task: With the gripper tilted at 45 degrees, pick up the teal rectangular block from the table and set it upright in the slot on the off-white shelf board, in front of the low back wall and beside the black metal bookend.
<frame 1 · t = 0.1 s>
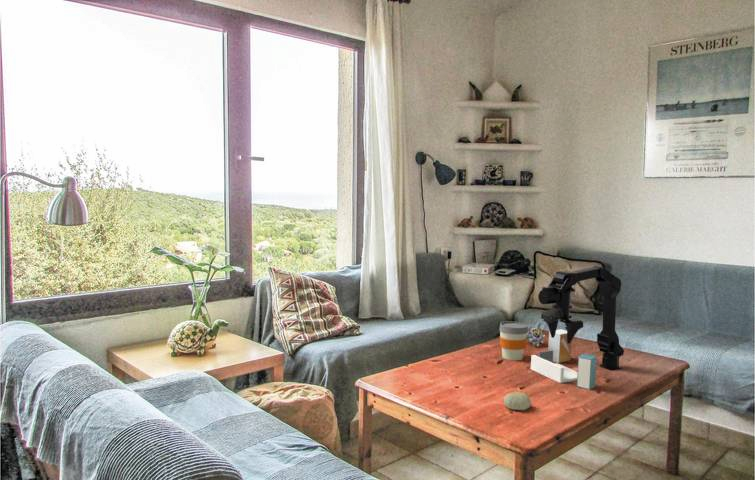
hand: (560, 340, 232), 15 cm above the table, tool pointing down, fingers open, 9 cm apart
teal rectangular block: (586, 386, 222), on the table
small box: (559, 360, 254), on the table
passion flower: (531, 344, 279), on the table
shelf: (559, 375, 234), on the table
sea urchin shell: (517, 407, 200), on the table
reusable coffee cup: (512, 357, 257), on the table
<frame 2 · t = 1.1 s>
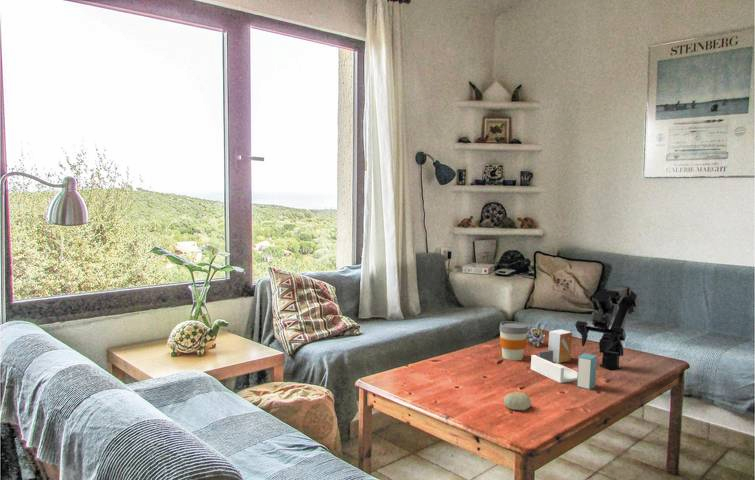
hand: (594, 348, 227), 13 cm above the table, tool tilted 45°, fingers open, 9 cm apart
nothing on the table moved.
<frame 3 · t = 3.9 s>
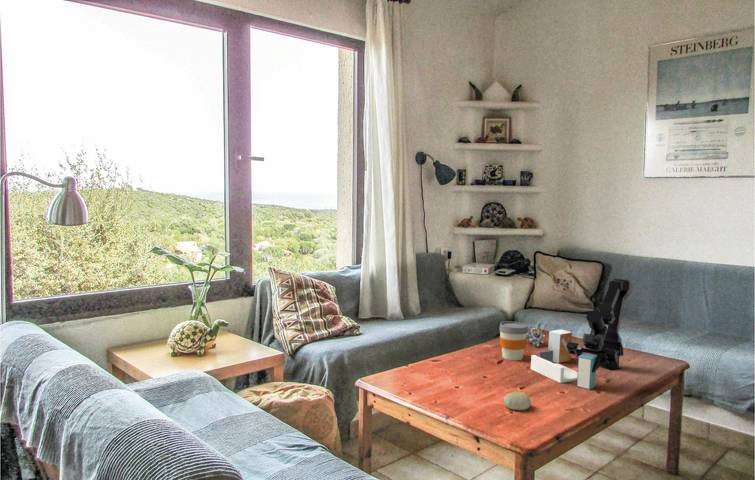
hand: (585, 370, 220), 7 cm above the table, tool tilted 45°, fingers closed on teal rectangular block, 5 cm apart
teal rectangular block: (586, 386, 222), on the table, touching gripper
everything else where it was.
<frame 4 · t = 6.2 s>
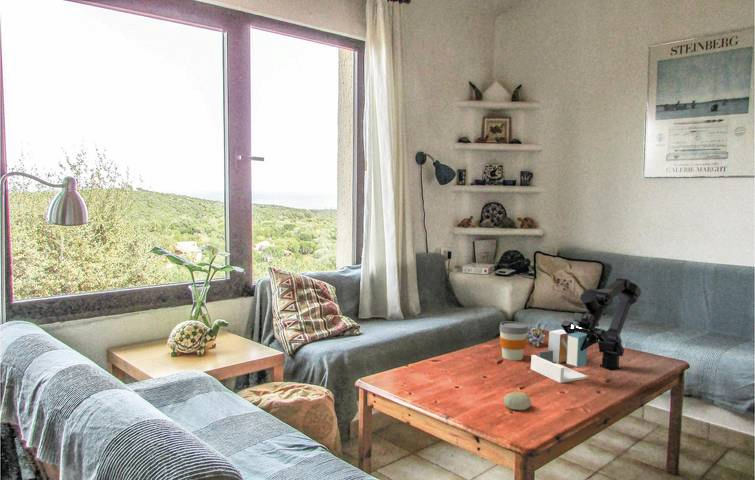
hand: (575, 348, 225), 13 cm above the table, tool tilted 45°, fingers closed on teal rectangular block, 5 cm apart
teal rectangular block: (576, 364, 227), point 7 cm above the table, touching gripper
everything else where it was.
when the fingers open (9 cm above the table, at t = 8.5 s): teal rectangular block drops 1 cm, resting on shelf.
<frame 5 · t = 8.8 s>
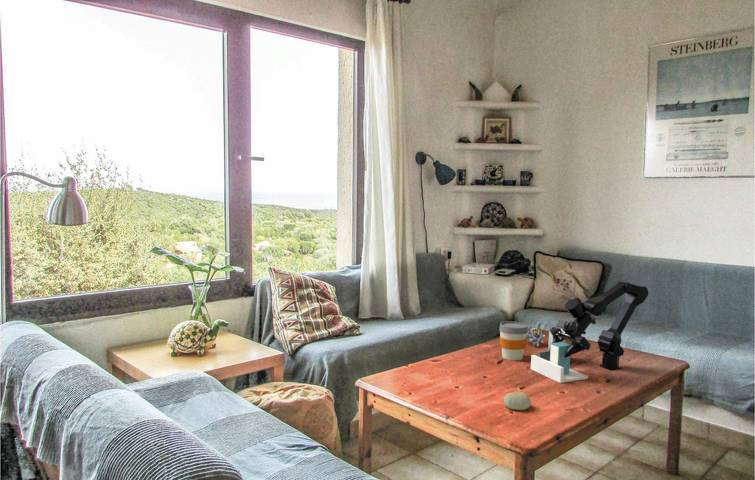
hand: (557, 354, 232), 9 cm above the table, tool tilted 45°, fingers open, 8 cm apart
teal rectangular block: (559, 372, 234), point 1 cm above the table, touching shelf
everything else where it was.
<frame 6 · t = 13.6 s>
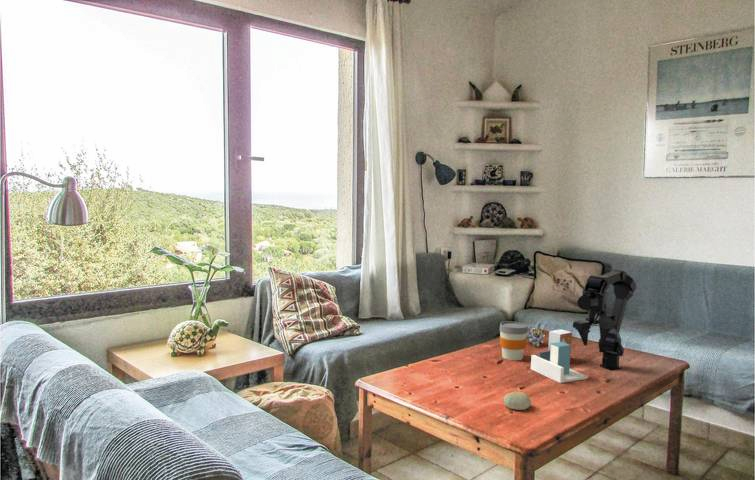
hand: (594, 344, 233), 13 cm above the table, tool pointing down, fingers open, 9 cm apart
nothing on the table moved.
at the end: teal rectangular block 0.8 cm off-centre on the shelf, point 1.0 cm above the shelf's base; teal rectangular block tilted 0°; the gripper is holding nothing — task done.
